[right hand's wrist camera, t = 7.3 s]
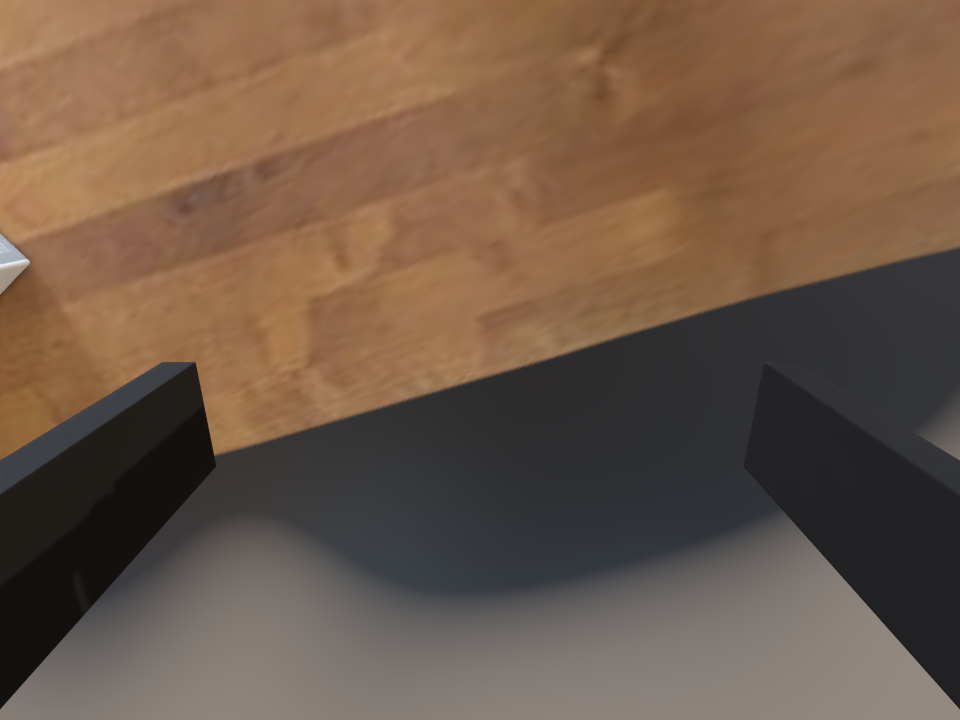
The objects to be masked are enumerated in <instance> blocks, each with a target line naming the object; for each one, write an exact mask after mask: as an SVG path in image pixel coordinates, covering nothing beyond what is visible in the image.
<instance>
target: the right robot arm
mask: <svg viewBox="0 0 960 720" xmlns="http://www.w3.org/2000/svg"><path fill="white" fill-rule="evenodd" d="M215 467H216V463H215V458H214V453H213V448H212V443H211V438H210V433H209V428H208V423H207V418H206V413H205V408H204V403H203V397H202V392H201V387H200V382H199V377H198V372H197V367H196V362H162V363H160V364H159V365H157V366H155V367H154V368H152V369H150V370H149V371H147V372H145V373H144V374H142V375H141V376H139V377H137V378H136V379H134V380H132V381H131V382H129V383H127V384H126V385H124V386H122V387H121V388H119V389H117V390H116V391H114V392H112V393H111V394H109V395H108V396H106V397H104V398H103V399H101V400H99V401H98V402H96V403H94V404H93V405H91V406H89V407H88V408H86V409H84V410H83V411H81V412H80V413H78V414H76V415H75V416H73V417H71V418H70V419H68V420H66V421H65V422H63V423H61V424H60V425H58V426H56V427H55V428H53V429H52V430H50V431H48V432H47V433H45V434H43V435H42V436H40V437H38V438H37V439H35V440H33V441H32V442H30V443H28V444H27V445H25V446H23V447H22V448H20V449H19V450H17V451H15V452H14V453H12V454H10V455H9V456H7V457H5V458H4V459H2V460H0V709H1V708H2V707H3V705H4V704H5V703H6V702H7V701H8V700H9V699H10V698H11V696H12V695H13V694H14V693H15V692H16V691H17V690H18V689H19V687H20V686H21V685H22V684H23V683H24V682H25V681H26V680H27V678H28V677H29V676H30V675H31V674H32V673H33V672H34V671H35V669H36V668H37V667H38V666H39V665H40V664H41V663H42V662H43V660H44V659H45V658H46V657H47V656H48V655H49V654H50V653H51V651H52V650H53V649H54V648H55V647H56V646H57V645H58V644H59V642H60V641H61V640H62V639H63V638H64V637H65V636H66V635H67V633H68V632H69V631H70V630H71V629H72V628H73V627H74V626H75V624H76V623H77V622H78V621H79V620H80V619H81V618H82V617H83V615H84V614H85V613H86V612H87V611H88V610H89V609H90V608H91V606H92V605H93V604H94V603H95V602H96V601H97V600H98V599H99V597H100V596H101V595H102V594H103V593H104V592H105V591H106V590H107V588H108V587H109V586H110V585H111V584H112V583H113V582H114V581H115V579H116V578H117V577H118V576H119V575H120V574H121V573H122V572H123V570H124V569H125V568H126V567H127V566H128V565H129V564H130V563H131V561H132V560H133V559H134V558H135V557H136V556H137V555H138V554H139V552H140V551H141V550H142V549H143V548H144V547H145V546H146V544H147V543H148V542H149V541H150V540H151V539H152V538H153V537H154V536H155V534H156V533H157V532H158V531H159V530H160V529H161V528H162V527H163V525H164V524H165V523H166V522H167V521H168V520H169V519H170V518H171V516H172V515H173V514H174V513H175V512H176V511H177V510H178V509H179V507H180V506H181V505H182V504H183V503H184V502H185V501H186V500H187V499H188V497H189V496H190V495H191V494H192V493H193V492H194V491H195V489H196V488H197V487H198V486H199V485H200V484H201V483H202V482H203V480H204V479H205V478H206V477H207V476H208V475H209V474H210V473H211V472H212V470H213V469H214V468H215ZM744 467H745V468H746V469H747V470H748V471H749V473H750V474H751V475H752V476H753V477H754V478H755V479H756V480H757V482H758V483H759V484H760V485H761V486H762V487H763V488H764V489H765V491H766V492H767V493H768V494H769V495H770V496H771V497H772V499H773V500H774V501H775V502H776V503H777V504H778V505H779V506H780V507H781V509H782V510H783V511H784V512H785V513H786V514H787V515H788V517H789V518H790V519H791V520H792V521H793V522H794V523H795V524H796V526H797V527H798V528H799V529H800V530H801V531H802V532H803V533H804V534H805V536H806V537H807V538H808V539H809V540H810V541H811V542H812V543H813V545H814V546H815V547H816V548H817V549H818V550H819V551H820V552H821V554H822V555H823V556H824V557H825V558H826V559H827V560H828V561H829V563H830V564H831V565H832V566H833V567H834V568H835V569H836V570H837V572H838V573H839V574H840V575H841V576H842V577H843V578H844V579H845V581H846V582H847V583H848V584H849V585H850V586H851V587H852V588H853V590H854V591H855V592H856V593H857V594H858V595H859V596H860V597H861V599H862V600H863V601H864V602H865V603H866V604H867V605H868V606H869V608H870V609H871V610H872V611H873V612H874V613H875V614H876V615H877V617H878V618H879V619H880V620H881V621H882V622H883V623H884V624H885V626H886V627H887V628H888V629H889V630H890V631H891V632H892V633H893V635H894V636H895V637H896V638H897V639H898V640H899V641H900V642H901V644H902V645H903V646H904V647H905V648H906V649H907V650H908V651H909V653H910V654H911V655H912V656H913V657H914V658H915V659H916V660H917V662H918V663H919V664H920V665H921V666H922V667H923V668H924V669H925V671H926V672H927V673H928V674H929V675H930V676H931V677H932V678H933V680H934V681H935V682H936V683H937V684H938V685H939V686H940V687H941V689H942V690H943V691H944V692H945V693H946V694H947V695H948V696H949V698H950V699H951V700H952V701H953V702H954V703H955V704H956V705H957V707H958V708H959V709H960V460H958V459H956V458H955V457H953V456H951V455H950V454H948V453H946V452H945V451H943V450H941V449H940V448H938V447H936V446H935V445H933V444H932V443H930V442H928V441H927V440H925V439H923V438H922V437H920V436H918V435H917V434H915V433H913V432H912V431H910V430H908V429H907V428H905V427H903V426H902V425H900V424H899V423H897V422H895V421H894V420H892V419H890V418H889V417H887V416H885V415H884V414H882V413H880V412H879V411H877V410H876V409H874V408H872V407H871V406H869V405H867V404H866V403H864V402H862V401H861V400H859V399H857V398H856V397H854V396H852V395H851V394H849V393H847V392H846V391H844V390H843V389H841V388H839V387H838V386H836V385H834V384H833V383H831V382H829V381H828V380H826V379H824V378H823V377H821V376H819V375H818V374H816V373H815V372H813V371H811V370H810V369H808V368H806V367H805V366H803V365H801V364H800V363H798V362H765V363H764V367H763V372H762V377H761V383H760V387H759V393H758V398H757V403H756V408H755V413H754V418H753V423H752V428H751V433H750V438H749V443H748V448H747V453H746V458H745V463H744Z"/></svg>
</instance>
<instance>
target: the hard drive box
mask: <svg viewBox="0 0 960 720" xmlns="http://www.w3.org/2000/svg"><path fill="white" fill-rule="evenodd" d="M29 264H30V261H29V260H28V259H27V258H26V257H25V256H24V255H23V254H21V253H20V252H19V251H18V250H17V249H16V248H15V247H14V246H13V245H12V244H11V243H10V242H8V241H7V240H6V239H5V238H4V237H3V236H2V235H1V234H0V294H1V293H2V292H3V291H4V290H5V289H6V288H7V287H8V286H9V285H10V284H11V283H12V281H13V280H14V279H15V278H16V277H17V276H18V275H19V274H20V273H21V272H22V271H23V270H24V269H25V268H26V267H27V266H28V265H29Z"/></svg>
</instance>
